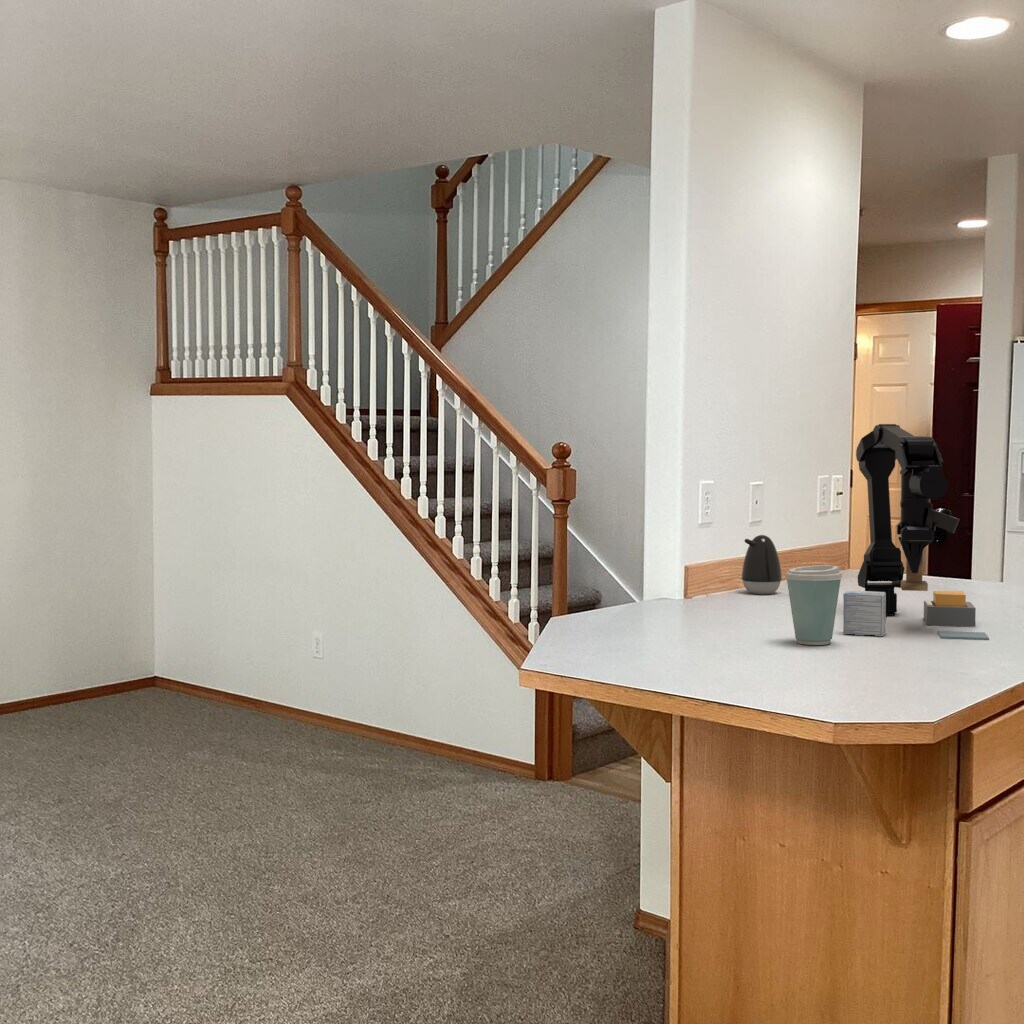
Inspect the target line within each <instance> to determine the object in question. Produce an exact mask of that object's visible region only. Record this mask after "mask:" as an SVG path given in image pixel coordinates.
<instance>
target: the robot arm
mask: <svg viewBox="0 0 1024 1024" xmlns="http://www.w3.org/2000/svg"><path fill="white" fill-rule="evenodd" d="M855 450H856V451H855V457H856V461H857V462H858V469H859V471H860V473H861V474H862V475H863V477H864V478H865V480H866V482H867V484H866V485H867V498H868V499H867V500H868V501H867V505H868V519H869V520H868V522H869V538H870V543H869V545H868V547H867V549H866V550H865V552H864V554H863V561H862V564H861V567H860V569H859V572H858V575H857V585H858V586H859V587H861V588H863V589H864V591H873V592H885V593H886V616H896V615H895V614H896V613H897V611H898V610H897V609H898V607H897V606H898V604H897V603H898V594H897V592H895V588H899V589H901V580H903V578H904V574H905V573H904V572H905V567H904V562H903V561H902V551H903V554H904V557H905V558H906V557H907V560H908V563H909V566H910V569H911V571H912V573H918V569H919V565H920V561H921V557H922V553H923V554H924V549H925V548H926V547H927V546H929V545H930V544H931V543H932V542H934V541H935V530H933V529H932V528H933V526H934V527H937V528H938V529H942V530H945V531H946V532H948V533H950V534H955V533H956V530H957V527H958V525H959V521H960V518H957V517H955V516H953V515H952V511H951V510H949V509H947V508H943V509H941V510H940V511H938V510H935V509H933V504H932V503H931V500H938V499H940V498H942V497H944V495H946V493H947V491H948V489H949V482H948V479H947V477H946V475H945V474H943V473H942V472H940V471H939V470H943V464H944V460H943V458H942V455H941V452H940V450H939V448H938V445H937V442H935V440H934V438H933V437H932V436H926V435H925V436H923V435H921V436H920V435H919V436H918V435H913V434H912V433H909V432H908V431H906V430H905V429H903V428H902V427H901V426H900V425H899V424H896V423H879V424H876V425H875V426H874V427H873V429H872V431H870V432H869V433H867V434H866V435H865V436H862V437H861V438H860V441H859V443H858V445H857V447H856V449H855ZM896 460H897V462H898V464H899V466H900V468H901V469H900V471H899V474H900V502H899V505H900V506H899V507H900V521H899V523H897V524H896V535H900V536H898V538H897V539H898V540H899V543H900V545H901V549H902V550H901V549H900V547H897V546H896V545H895V543H894V542H893V538H892V537H893V535H892V533H893V531H892V516H891V513H892V512H891V500H890V483H889V482H890V481H889V479H890V477H891V475H892V473H893V471H894V469H895V467H896Z"/></svg>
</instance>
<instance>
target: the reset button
mask: <svg viewBox="0 0 1024 1024" xmlns="http://www.w3.org/2000/svg"><path fill="white" fill-rule="evenodd" d="M932 595H933V597H932V598H933V600H932V601H933V605H934V606H952V607H966V602H967V601H966V598H967V595H966V594H965V592H964V591H957V590H953V591H952V590H933V594H932Z"/></svg>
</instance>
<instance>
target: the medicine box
mask: <svg viewBox="0 0 1024 1024" xmlns="http://www.w3.org/2000/svg"><path fill="white" fill-rule="evenodd" d="M842 597H843V598H842V599H843V601H842V602H843V603H842V604H843V606H842V607H843V609H842V610H843V613H842V615H843V617H842V620H843V623H842V624H843V625H842V626H843V627H842V629H843V632H842V634H843V635H845V634H855V635H854V636H864V635H875V636H874V637H881V636H883V635H884V636H885V634H886V632H887V629H886V628H887V627H886V626H887V620H886V619H887V617H886V616H887V615H886V593H885V592H873V591H865V590H846V591H845V592H844V593H843V594H842ZM884 636H883V637H884Z"/></svg>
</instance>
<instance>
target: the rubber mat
mask: <svg viewBox="0 0 1024 1024" xmlns="http://www.w3.org/2000/svg"><path fill="white" fill-rule="evenodd" d="M937 634H938V636H939V638H940V639H948V640H949V639H951V640H952V639H954V640H957V639H958V640H978V641H979V640H981V641H989V640H990V637H989V636H988V634H986V632H981V631H979V632H978V631H958V630H957V631H953V630H937Z"/></svg>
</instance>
